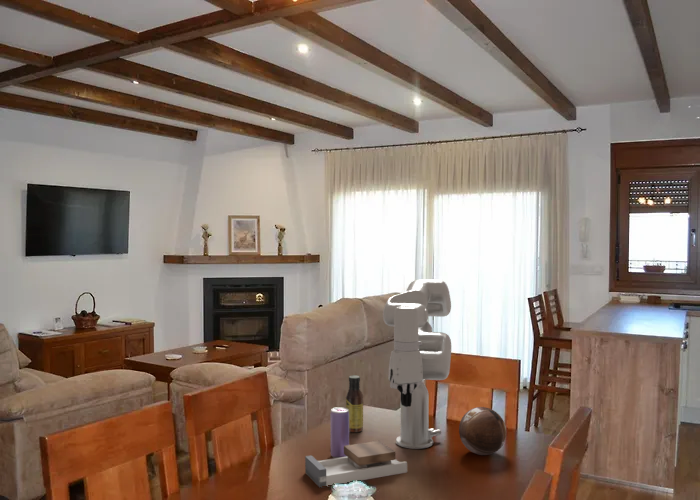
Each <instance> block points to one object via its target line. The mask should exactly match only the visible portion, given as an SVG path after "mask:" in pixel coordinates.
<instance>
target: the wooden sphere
mask: <svg viewBox="0 0 700 500" xmlns="http://www.w3.org/2000/svg"><path fill="white" fill-rule="evenodd" d="M458 426H459V427H458V433H459V439H460V440H461V443H462V445H464V447H465V448H466V449H467V450H468V451H470V452H471V453H473V454H476V455H479V456H489V455H493V454H494V453H496V452H498V451H499V450H500V449H501V448H502V447H503V446H504V443H505V441H506V438H507V426H506V423H505V422H504V419H503V417H502V416H501V415H500V414H499V413H498V412H497V411H495V410H494V409H492V408H489V407H486V406H478V407H473V408H471V409H469V410H468V411H466V412H465V413H464V415H463V416H462V418H461V420H460V422H459V425H458Z"/></svg>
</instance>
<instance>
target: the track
mask: <svg viewBox="0 0 700 500" xmlns="http://www.w3.org/2000/svg"><path fill="white" fill-rule="evenodd" d="M304 459H305V460H304V461H305V463H304V465H305V466H304V469H305V471H304V472H305V474H306V476H308V477H309V479H311V481H313V483H315V485H317V487H319V488H320V487H321V488H323V487H322V486H327V487H329V486H328V485H332V484H333V483H344V484H348V483H347V482H349V483H351V482H350V481H352V480H361V481H367V480H371V479H377V478H381V477H382V478H384V477H389V476H393V475H399V474H406V473H408V462H407V461H406V460H405V461H399V460H398V459H397V458H395V460H391V464H386V465H382V464H381V463H380V462H378V463H372V464H366V465H367V468H362V469H358V468H357V467H356V466H354V465H353V464H352V463H351V462H349V461H348V457H347V456H346V457H340V458H329V459H323V460H322V459H321V460H317V459H316V458H315V457H314V456H313V455H305V456H304ZM332 486H333V485H332Z"/></svg>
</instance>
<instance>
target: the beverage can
mask: <svg viewBox="0 0 700 500" xmlns="http://www.w3.org/2000/svg"><path fill="white" fill-rule="evenodd" d="M346 445H350V432H349V410H348V409H347V408H346V407H343V406H342V407H339V406H338V407H333V408H331V409H330V455H331V458H332V459H334V458H340V457H346V455H345V454H344V446H346Z"/></svg>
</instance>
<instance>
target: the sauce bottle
mask: <svg viewBox="0 0 700 500" xmlns="http://www.w3.org/2000/svg"><path fill="white" fill-rule="evenodd" d="M360 381H361V377H360V376H359V375H349V376H348V390H347V394H346V397H345V408H347V409H348V410H349V433H360V432H362V431H363V429H364V428H363V427H364V401H363V397H364V395H363V392H362V391H361V389H360V388H361V387H360Z"/></svg>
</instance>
